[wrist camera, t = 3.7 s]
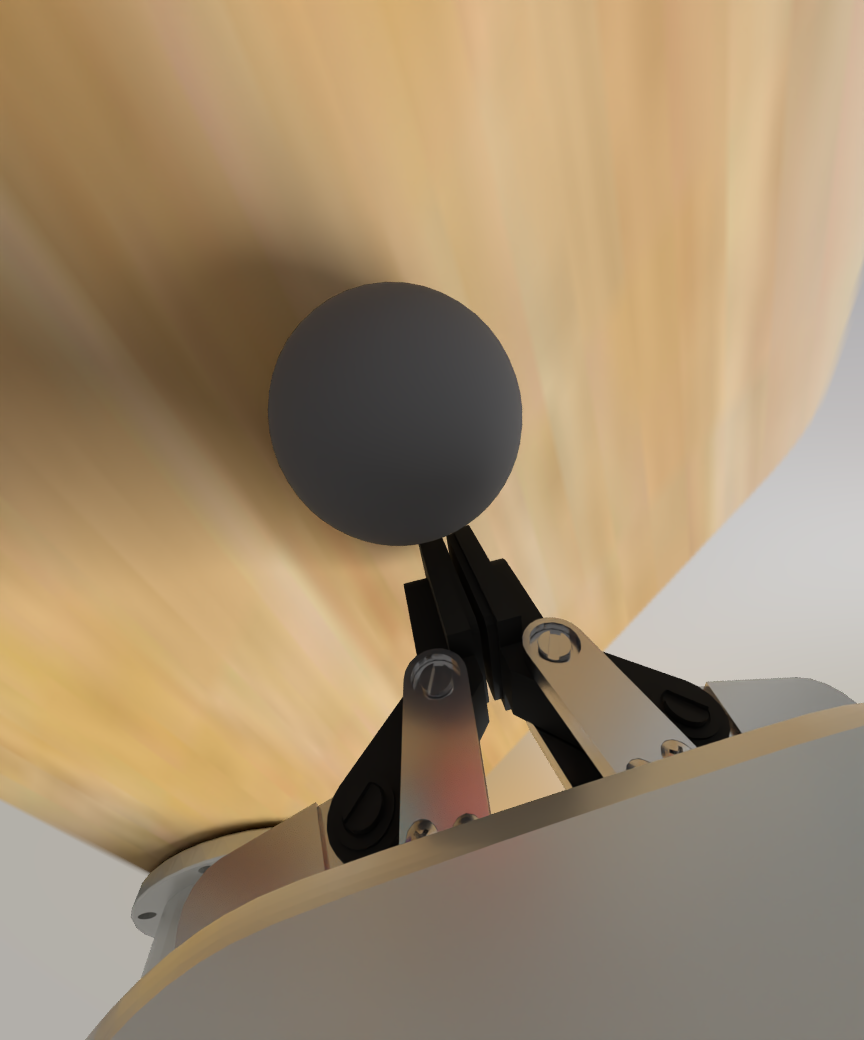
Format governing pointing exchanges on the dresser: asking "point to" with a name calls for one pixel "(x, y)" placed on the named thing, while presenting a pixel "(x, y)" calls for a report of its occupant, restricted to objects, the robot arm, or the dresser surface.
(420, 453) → the dark gray ball
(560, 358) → the dresser surface
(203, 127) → the dresser surface
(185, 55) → the dresser surface
